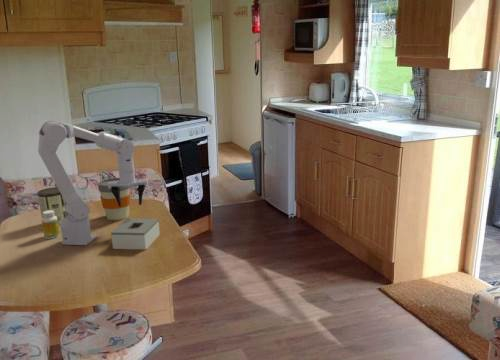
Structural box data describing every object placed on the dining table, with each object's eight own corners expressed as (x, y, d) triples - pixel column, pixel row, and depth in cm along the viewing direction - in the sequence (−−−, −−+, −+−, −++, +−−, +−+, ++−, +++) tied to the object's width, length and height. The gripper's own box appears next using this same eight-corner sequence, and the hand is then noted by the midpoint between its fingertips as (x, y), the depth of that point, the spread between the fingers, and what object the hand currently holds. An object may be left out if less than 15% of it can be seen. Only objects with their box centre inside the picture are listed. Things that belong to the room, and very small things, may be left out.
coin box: (113, 248, 167) (111, 232, 166) (129, 233, 181) (127, 218, 179) (145, 249, 165) (144, 233, 164) (159, 234, 179) (158, 219, 177)
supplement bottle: (54, 239, 179) (50, 214, 176) (41, 238, 180) (37, 213, 177) (62, 233, 184) (59, 209, 181) (50, 233, 185) (46, 209, 182)
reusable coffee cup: (109, 211, 208) (105, 177, 204) (137, 211, 206) (134, 177, 202) (97, 221, 196) (92, 185, 192) (126, 221, 194) (122, 185, 190)
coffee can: (59, 218, 202) (54, 185, 198) (75, 222, 197) (70, 188, 193) (37, 226, 194) (31, 192, 190) (53, 230, 188) (47, 195, 185)
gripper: (104, 174, 176) (109, 209, 180) (144, 171, 177) (148, 206, 181) (108, 169, 183) (112, 203, 186) (147, 167, 184) (150, 201, 188)
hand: (130, 204), depth 184 cm, fingers open, 7 cm apart
